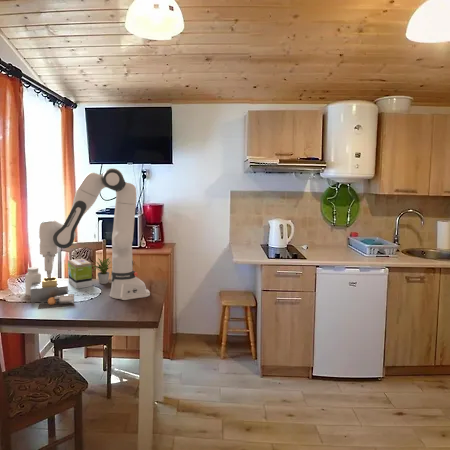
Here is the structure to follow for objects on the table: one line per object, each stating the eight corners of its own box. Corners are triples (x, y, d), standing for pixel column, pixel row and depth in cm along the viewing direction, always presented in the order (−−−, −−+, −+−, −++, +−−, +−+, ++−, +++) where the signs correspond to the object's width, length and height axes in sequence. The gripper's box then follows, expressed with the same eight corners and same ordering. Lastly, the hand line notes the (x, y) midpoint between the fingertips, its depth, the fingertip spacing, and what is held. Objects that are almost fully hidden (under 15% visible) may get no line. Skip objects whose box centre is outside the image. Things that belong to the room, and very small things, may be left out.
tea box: (67, 283, 249) (67, 259, 247) (84, 280, 256) (83, 257, 254) (76, 289, 238) (75, 264, 236) (92, 286, 244) (92, 262, 242)
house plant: (98, 278, 262) (98, 253, 259) (118, 279, 259) (118, 255, 257) (87, 284, 248) (87, 258, 245) (108, 286, 245) (108, 259, 243)
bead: (56, 303, 211) (56, 295, 210) (56, 305, 207) (55, 298, 206) (48, 304, 209) (47, 296, 209) (47, 306, 206) (47, 299, 205)
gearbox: (67, 294, 227) (67, 275, 226) (67, 300, 216) (67, 280, 215) (32, 296, 221) (32, 277, 220) (30, 303, 210) (30, 283, 208)
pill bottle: (42, 295, 225) (41, 268, 223) (26, 297, 220) (25, 270, 218) (40, 291, 231) (39, 265, 229) (24, 293, 227) (23, 267, 225)
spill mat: (73, 301, 216) (73, 300, 216) (74, 306, 207) (74, 305, 207) (39, 304, 210) (39, 303, 209) (37, 309, 201) (37, 309, 201)
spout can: (73, 301, 213) (73, 292, 213) (74, 304, 209) (73, 295, 208) (54, 303, 210) (54, 294, 209) (54, 306, 205) (54, 297, 205)
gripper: (54, 253, 207) (55, 280, 208) (55, 246, 226) (56, 270, 227) (41, 254, 204) (42, 280, 206) (43, 246, 223) (44, 271, 225)
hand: (49, 275), depth 217 cm, fingers open, 8 cm apart
